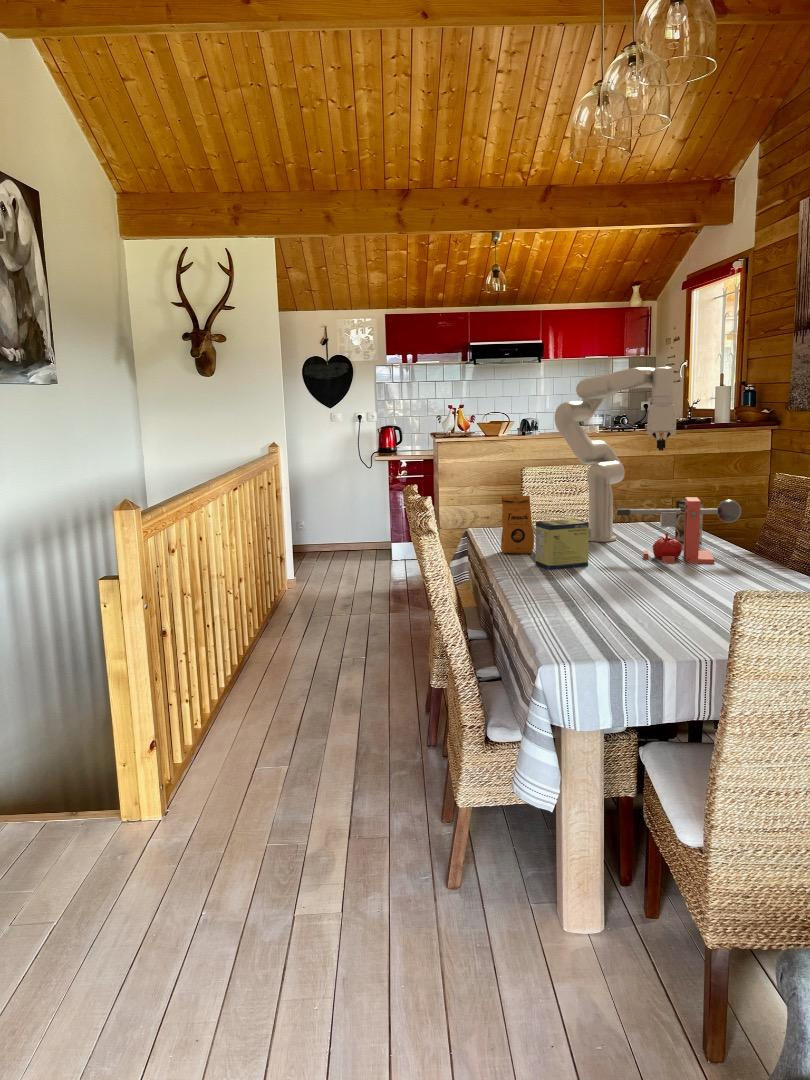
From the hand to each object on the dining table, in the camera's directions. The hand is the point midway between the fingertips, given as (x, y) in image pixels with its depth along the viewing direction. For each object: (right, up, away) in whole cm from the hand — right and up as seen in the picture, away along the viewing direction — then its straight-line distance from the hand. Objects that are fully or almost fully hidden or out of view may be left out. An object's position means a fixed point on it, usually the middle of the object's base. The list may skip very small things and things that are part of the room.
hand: (660, 450), depth 297 cm
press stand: (+1, -40, -16) cm, 43 cm away
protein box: (-42, -43, -22) cm, 64 cm away
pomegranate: (-3, -41, -15) cm, 43 cm away
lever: (0, -29, -18) cm, 34 cm away
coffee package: (-54, -39, +3) cm, 66 cm away
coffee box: (+16, -35, +17) cm, 42 cm away
